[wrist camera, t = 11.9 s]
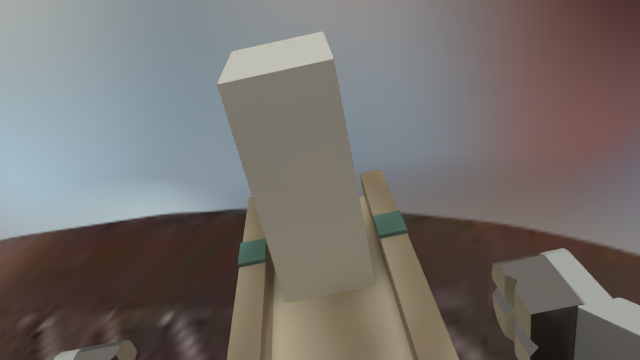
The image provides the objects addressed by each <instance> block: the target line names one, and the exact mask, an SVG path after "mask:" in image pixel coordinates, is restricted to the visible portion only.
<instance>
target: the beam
mask: <svg viewBox="0 0 640 360" xmlns="http://www.w3.org/2000/svg"><path fill="white" fill-rule="evenodd" d="M360 177H361V183H362V188H363V194H364V197H359V198H360V203H361V208H362V214H363V219H364V224H365V230H366V235H367V241H368V246H369V251H370V257H371V262H372V267H373V273H374V278H375V283H376V286H371V287H366V288H361V289H356V290H351V291H346V292H341V293H336V294H331V295H326V296H321V297H316V298H311V299H306V300H301V301H296V302H291V303H286V302H285V299H284V296H283V292H282V289H281V286H280V283H279V280H278V277H277V273H276V270H275V267H274V264H273V261H272V258H271V254H270V251H269V248H268V245H267V242H266V238H265V235H264V232H263V229H262V226H261V223H260V219H259V216H258V213H257V210H256V207H255V204H254V200H253V197H249V202H248V209H247V216H246V223H245V231H244V238H243V243H241V245H240V252H239V259H238V266H239V274H238V282H237V289H236V296H235V304H234V311H233V318H232V326H231V333H230V340H229V348H228V355H227V360H459V358H458V356H457V353H456V351H455V349H454V346H453V344H452V341H451V339H450V336H449V334H448V331H447V329H446V327H445V324H444V322H443V319H442V317H441V314H440V312H439V310H438V307H437V305H436V302H435V300H434V297H433V295H432V293H431V290H430V288H429V285H428V283H427V280H426V278H425V276H424V273H423V271H422V268H421V266H420V263H419V261H418V259H417V256H416V254H415V251H414V249H413V246H412V244H411V241H410V239H409V237H408V234H407V228H406V226H405V223H404V221H403V219H402V216H401V214H400V211H398V210H397V208H396V205H395V203H394V200H393V198H392V195H391V193H390V191H389V188H388V186H387V183H386V181H385V178H384V176H383V173H382V171H381V170H376V171H372V172H367V173H363V174H360Z"/></svg>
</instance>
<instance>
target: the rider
mask: <svg viewBox="0 0 640 360" xmlns="http://www.w3.org/2000/svg"><path fill="white" fill-rule="evenodd" d="M217 86H218V89H219V93H220V96H221V99H222V102H223V105H224V108H225V112H226V115H227V118H228V121H229V124H230V127H231V131H232V134H233V136H234V140H235V143H236V146H237V150H238V153H239V156H240V159H241V162H242V165H243V168H244V172H245V175H246V178H247V181H248V185H249V188H250V191H251V194H252V197H253V200H254V204H255V207H256V210H257V213H258V216H259V219H260V223H261V226H262V229H263V232H264V235H265V238H266V242H267V245H268V248H269V251H270V254H271V258H272V261H273V264H274V267H275V270H276V273H277V277H278V280H279V283H280V286H281V289H282V292H283V296H284V299H285V302H286V303H291V302H296V301H301V300H306V299H311V298H316V297H321V296H326V295H331V294H336V293H341V292H346V291H351V290H356V289H361V288H366V287H371V286H376V283H375V278H374V273H373V267H372V262H371V257H370V251H369V246H368V241H367V235H366V230H365V224H364V219H363V214H362V208H361V203H360V198H359V192H358V187H357V182H356V176H355V171H354V166H353V161H352V155H351V150H350V144H349V139H348V134H347V129H346V123H345V117H344V113H343V108H342V102H341V96H340V91H339V85H338V80H337V74H336V69H335V64H334V59H333V56H332V54H331V51H330V49H329V46H328V44H327V41H326V38H325V36H324V34H323V32H319V33H314V34H309V35H304V36H300V37H295V38H291V39H287V40H282V41H277V42H273V43H268V44H264V45H259V46H255V47H250V48H246V49H241V50H237V51H232V53H231V55H230V57H229V59H228V61H227V64H226V66H225V68H224V70H223V73H222V74H221V77H220V79H219V81H218V83H217Z"/></svg>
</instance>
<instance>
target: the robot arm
mask: <svg viewBox="0 0 640 360" xmlns="http://www.w3.org/2000/svg"><path fill="white" fill-rule="evenodd" d="M492 279H493V280H494V282H495V284H496V285H497V289H496V290H495V291H494V293H493V303H494V309H495V313H496V317H497V320H498V322H499V324H500V327H501V329H502V331H503V332H504V334H505V336H506V337H507V338H509V339H511V340H513V341H514V342H515V354H516V356H517V358H518V359H519V360H640V305H637V304H635V303H632V302H630V301H628V300H625V299H623V298H615V299H613V298H612V297H611V296H610V295H609V294H608V293H607V292H606V291H605V290H604V289H603V288H602V287H601V285H600V284H599V283H598V282H597V281H596V280H595V279H594V278H593V277H592V276H591V275H590V274H589V273H588V271H587V270H586V269H585V268H584V267H583V266H582V265H581V264H580V263H579V262H578V261H577V260H576V259H575V257H574V256H573V255H572V254H571V253H570V252H569V251H568V250H566V249H564V248H562V249H557V250H553V251H548V252H544V253H540V254H536V255H532V256H527V257H522V258H518V259H513V260H508V261H504V262H499V263H495V264H493V268H492ZM136 353H137V351H136V349H135V347H134V346H133V344H132V343H131V341H125V340H124V341H119V342H113V343H108V344H102V345H97V346H91V347H86V348H82V349H78V350H72V351H66V352H61V353H60V354H58V355H57V356H56V357H55V358H54V359H53V360H134V359H135V356H136Z"/></svg>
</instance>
